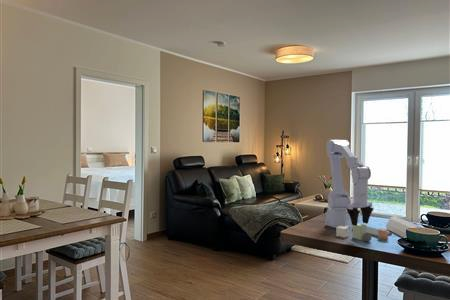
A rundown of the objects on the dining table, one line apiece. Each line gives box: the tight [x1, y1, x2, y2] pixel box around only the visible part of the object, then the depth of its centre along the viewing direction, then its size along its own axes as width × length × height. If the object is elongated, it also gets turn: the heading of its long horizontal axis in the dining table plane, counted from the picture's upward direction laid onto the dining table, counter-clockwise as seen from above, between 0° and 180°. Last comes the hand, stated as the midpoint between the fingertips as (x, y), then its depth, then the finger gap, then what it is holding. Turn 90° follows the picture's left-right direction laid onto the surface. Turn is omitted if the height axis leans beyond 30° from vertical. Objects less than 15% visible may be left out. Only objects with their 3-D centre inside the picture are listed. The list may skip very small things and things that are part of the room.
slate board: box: [351, 226, 393, 238], centre depth 154 cm, size 14×10×1 cm
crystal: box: [385, 215, 421, 239], centre depth 150 cm, size 7×7×24 cm
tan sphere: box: [377, 228, 389, 241], centre depth 143 cm, size 4×4×4 cm
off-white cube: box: [335, 226, 350, 239], centre depth 147 cm, size 4×4×4 cm
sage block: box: [352, 222, 368, 241], centre depth 144 cm, size 4×4×6 cm
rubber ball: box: [362, 233, 372, 243], centre depth 139 cm, size 4×4×4 cm
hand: (359, 224), depth 144 cm, fingers open, 7 cm apart
